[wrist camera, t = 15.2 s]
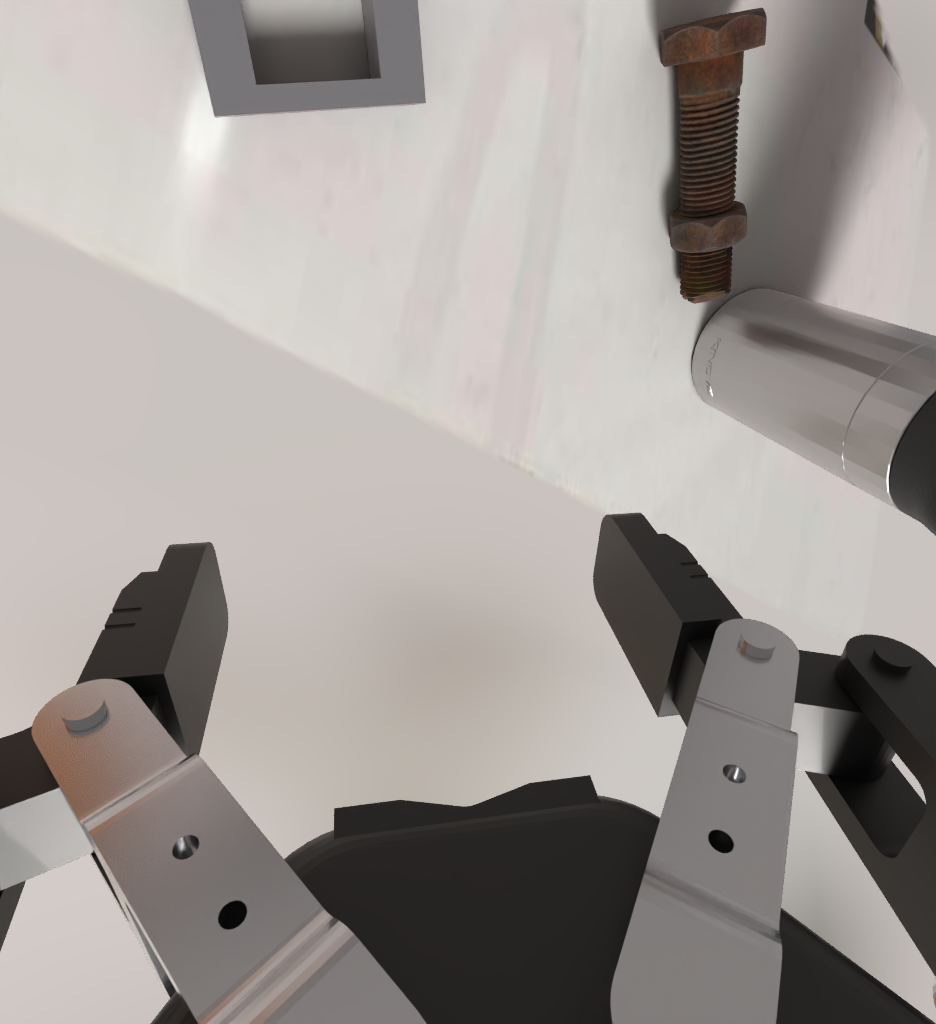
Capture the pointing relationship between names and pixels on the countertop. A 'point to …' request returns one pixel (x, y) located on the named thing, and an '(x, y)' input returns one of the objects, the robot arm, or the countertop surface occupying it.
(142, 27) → the countertop surface
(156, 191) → the countertop surface
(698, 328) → the countertop surface
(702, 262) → the bolt
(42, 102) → the countertop surface
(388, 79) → the fuse holder
